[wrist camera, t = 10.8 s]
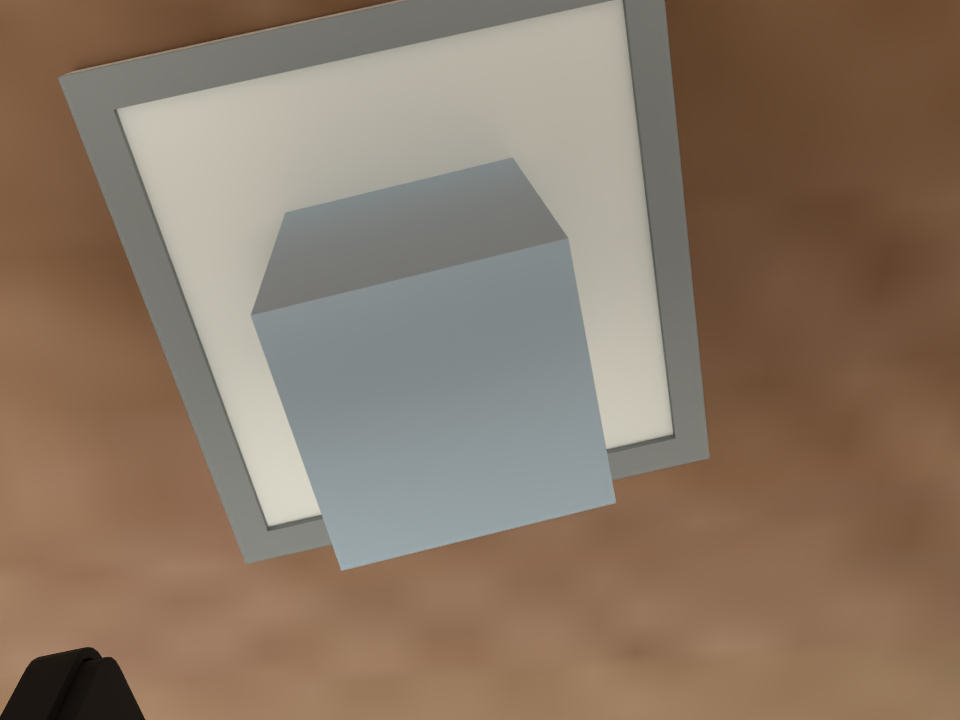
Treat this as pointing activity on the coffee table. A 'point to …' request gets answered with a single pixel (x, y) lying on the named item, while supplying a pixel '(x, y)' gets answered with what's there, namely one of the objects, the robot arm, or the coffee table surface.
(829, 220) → the coffee table surface
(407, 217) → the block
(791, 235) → the coffee table surface
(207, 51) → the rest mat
